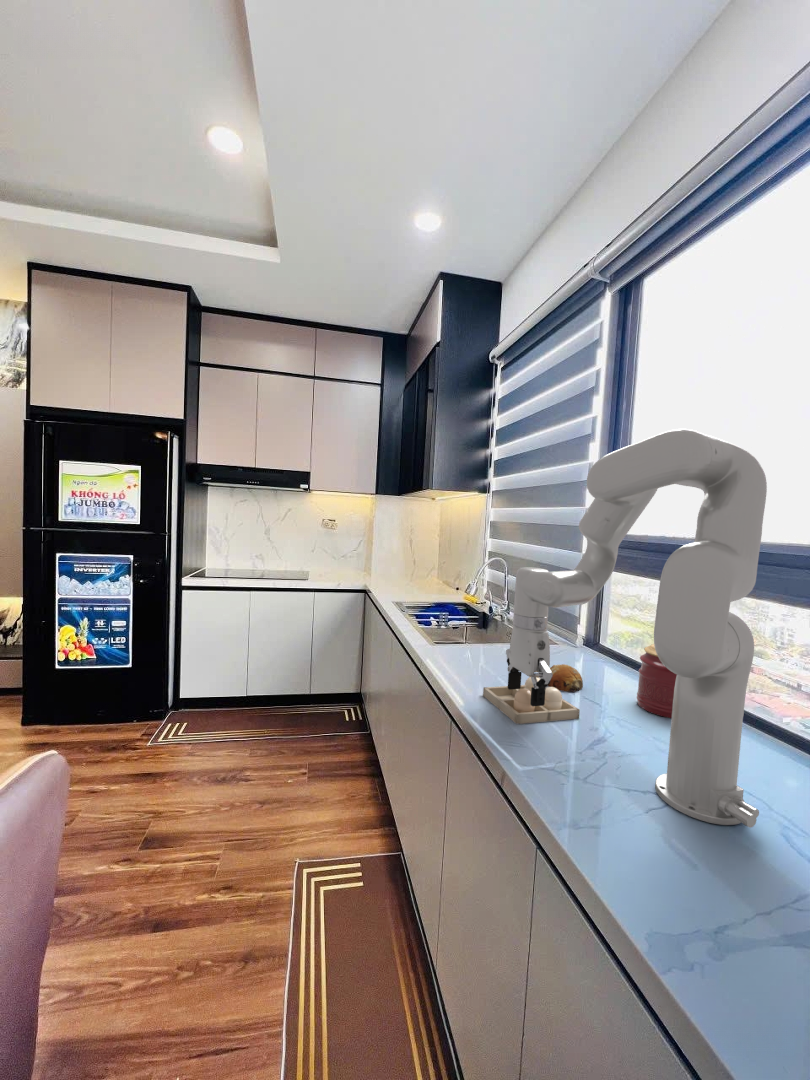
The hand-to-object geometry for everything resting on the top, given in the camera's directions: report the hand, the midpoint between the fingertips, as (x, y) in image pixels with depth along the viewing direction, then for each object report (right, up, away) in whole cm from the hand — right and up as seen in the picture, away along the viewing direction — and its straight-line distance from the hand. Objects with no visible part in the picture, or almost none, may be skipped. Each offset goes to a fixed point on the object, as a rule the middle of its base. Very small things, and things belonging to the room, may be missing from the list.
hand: (525, 696), depth 104 cm
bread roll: (+16, -5, +21) cm, 27 cm away
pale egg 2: (+7, -4, +2) cm, 8 cm away
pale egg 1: (+4, -4, +9) cm, 11 cm away
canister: (+37, -7, +9) cm, 39 cm away
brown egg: (0, -4, 0) cm, 4 cm away
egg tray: (+2, -5, +5) cm, 7 cm away
